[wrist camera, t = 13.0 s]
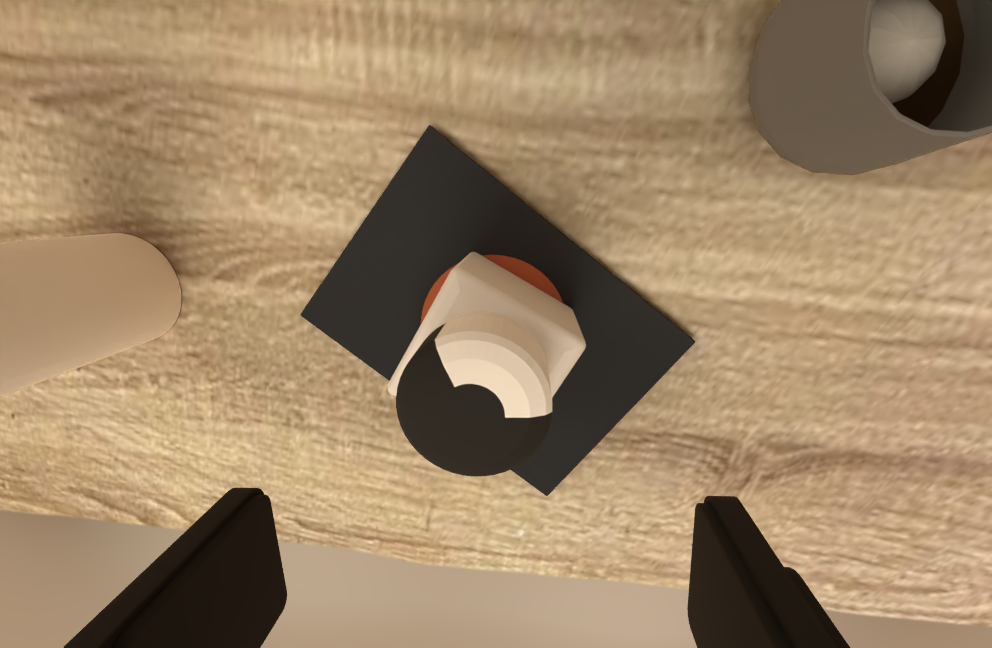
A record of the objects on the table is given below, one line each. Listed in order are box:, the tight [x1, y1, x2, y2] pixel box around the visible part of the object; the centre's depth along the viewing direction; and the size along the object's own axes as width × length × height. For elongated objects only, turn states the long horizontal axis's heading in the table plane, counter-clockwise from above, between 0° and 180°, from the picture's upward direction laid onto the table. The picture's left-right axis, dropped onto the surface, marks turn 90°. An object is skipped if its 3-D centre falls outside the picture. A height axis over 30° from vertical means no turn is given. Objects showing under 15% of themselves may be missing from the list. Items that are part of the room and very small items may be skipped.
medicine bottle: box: [387, 252, 586, 476], centre depth 23 cm, size 7×7×12 cm
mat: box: [301, 126, 695, 496], centre depth 29 cm, size 20×14×1 cm
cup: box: [748, 0, 992, 175], centre depth 20 cm, size 10×9×10 cm
